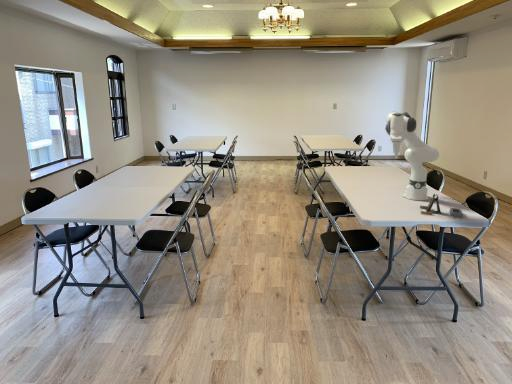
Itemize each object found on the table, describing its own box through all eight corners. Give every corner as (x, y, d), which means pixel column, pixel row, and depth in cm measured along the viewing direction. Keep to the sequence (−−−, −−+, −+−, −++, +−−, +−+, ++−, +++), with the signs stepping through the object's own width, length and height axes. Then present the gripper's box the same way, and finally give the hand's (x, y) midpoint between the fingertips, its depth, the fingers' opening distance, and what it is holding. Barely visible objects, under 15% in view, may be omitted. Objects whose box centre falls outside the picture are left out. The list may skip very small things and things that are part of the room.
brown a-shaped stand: (440, 211, 259) (442, 194, 256) (440, 214, 254) (443, 196, 251) (425, 209, 262) (428, 193, 259) (426, 212, 257) (428, 195, 254)
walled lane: (419, 207, 267) (420, 205, 267) (430, 208, 265) (431, 206, 265) (420, 213, 253) (421, 211, 252) (432, 215, 251) (432, 213, 250)
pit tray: (449, 211, 260) (450, 207, 259) (459, 213, 257) (460, 208, 257) (451, 216, 249) (452, 212, 248) (462, 218, 247) (463, 213, 246)
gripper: (392, 137, 269) (391, 156, 272) (391, 138, 251) (391, 159, 253) (401, 136, 267) (401, 156, 270) (401, 138, 248) (401, 159, 251)
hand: (396, 158), depth 261 cm, fingers closed
